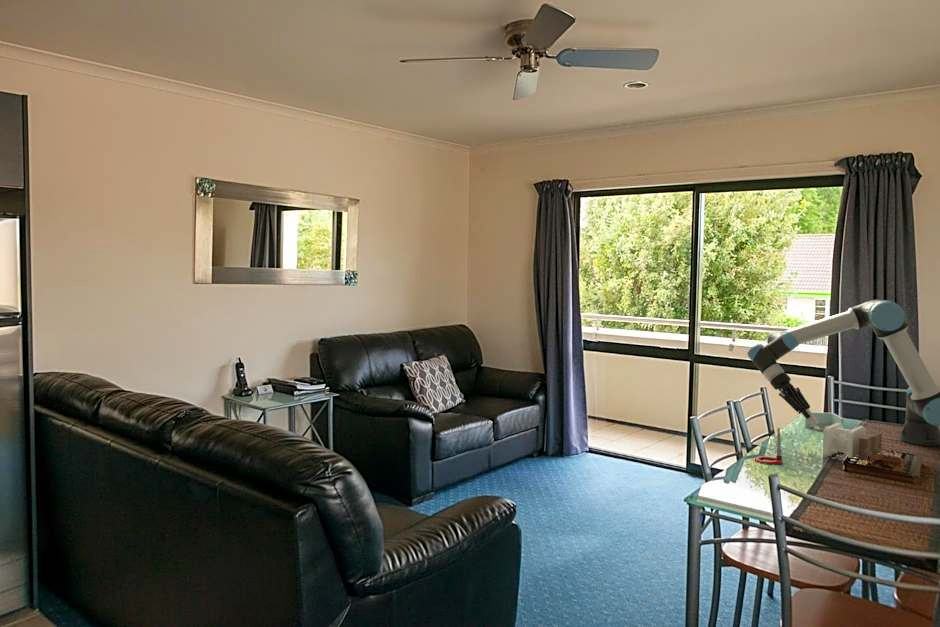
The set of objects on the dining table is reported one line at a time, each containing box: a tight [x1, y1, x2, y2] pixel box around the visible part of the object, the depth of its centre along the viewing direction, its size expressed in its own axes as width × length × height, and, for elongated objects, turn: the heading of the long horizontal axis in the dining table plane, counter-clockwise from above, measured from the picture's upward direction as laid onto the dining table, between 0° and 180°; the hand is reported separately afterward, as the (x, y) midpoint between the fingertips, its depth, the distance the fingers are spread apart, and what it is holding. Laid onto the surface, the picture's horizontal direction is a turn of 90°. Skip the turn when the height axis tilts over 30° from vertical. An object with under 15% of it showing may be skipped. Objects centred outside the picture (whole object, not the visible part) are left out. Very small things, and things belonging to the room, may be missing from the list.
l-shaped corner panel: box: [804, 411, 845, 433], centre depth 306 cm, size 12×12×8 cm
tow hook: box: [754, 427, 783, 465], centre depth 256 cm, size 8×13×9 cm
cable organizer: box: [822, 423, 866, 458], centre depth 264 cm, size 15×11×12 cm
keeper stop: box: [858, 432, 883, 460], centre depth 260 cm, size 14×13×10 cm
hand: (816, 424), depth 272 cm, fingers closed
